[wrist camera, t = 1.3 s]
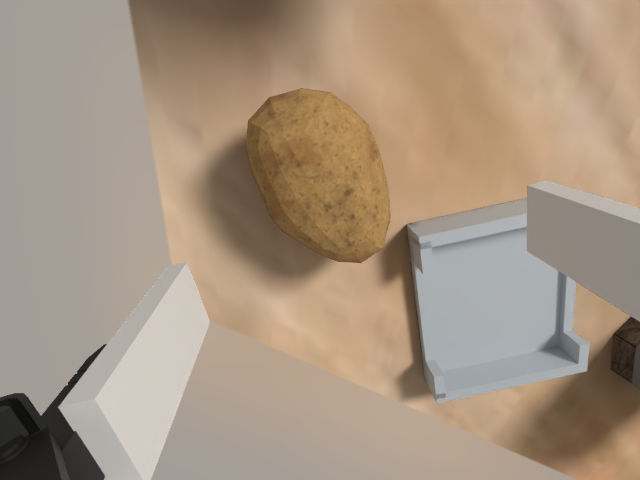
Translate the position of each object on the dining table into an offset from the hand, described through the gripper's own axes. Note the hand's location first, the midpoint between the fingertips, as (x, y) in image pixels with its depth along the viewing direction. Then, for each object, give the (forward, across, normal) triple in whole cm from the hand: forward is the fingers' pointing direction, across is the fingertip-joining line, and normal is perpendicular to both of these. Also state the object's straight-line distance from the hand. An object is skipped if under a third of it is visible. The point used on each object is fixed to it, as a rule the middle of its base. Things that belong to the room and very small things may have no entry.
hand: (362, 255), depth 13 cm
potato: (+19, 0, 0) cm, 19 cm away
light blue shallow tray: (+18, +15, -16) cm, 29 cm away
